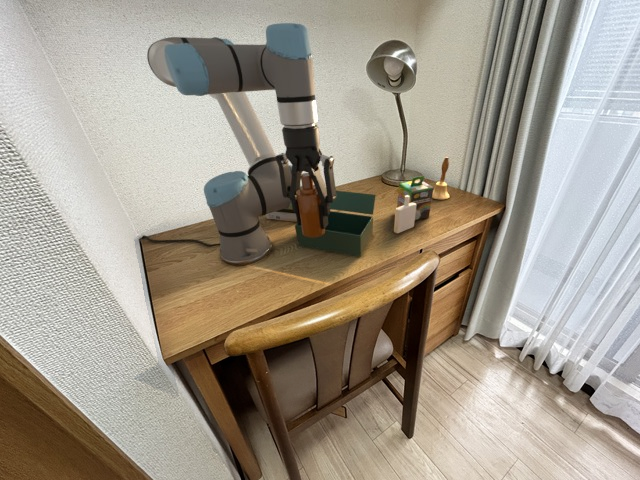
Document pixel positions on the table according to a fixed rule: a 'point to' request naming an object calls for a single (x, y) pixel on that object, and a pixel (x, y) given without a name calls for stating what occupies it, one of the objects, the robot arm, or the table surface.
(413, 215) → the perfume bottle
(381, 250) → the table surface
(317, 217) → the amber bottle
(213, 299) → the table surface
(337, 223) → the carton
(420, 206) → the chalk box
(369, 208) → the flap
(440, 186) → the hand bell
